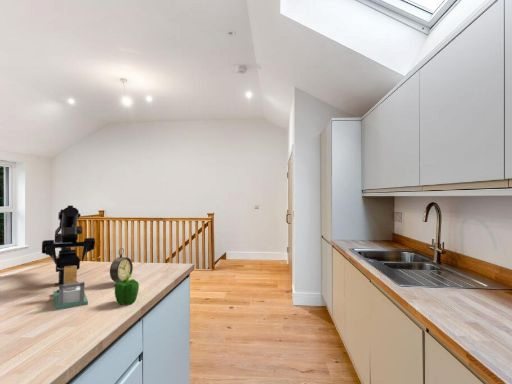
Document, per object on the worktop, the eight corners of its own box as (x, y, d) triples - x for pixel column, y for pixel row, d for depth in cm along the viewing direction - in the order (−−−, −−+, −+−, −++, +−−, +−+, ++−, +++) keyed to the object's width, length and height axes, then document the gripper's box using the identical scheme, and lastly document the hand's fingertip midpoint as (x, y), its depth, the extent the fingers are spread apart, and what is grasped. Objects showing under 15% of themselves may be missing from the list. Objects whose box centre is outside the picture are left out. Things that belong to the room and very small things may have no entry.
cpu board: (53, 294, 116) (54, 274, 116) (82, 290, 122) (83, 271, 122) (54, 310, 100) (55, 286, 100) (87, 304, 105) (88, 282, 106)
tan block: (63, 293, 112) (64, 266, 113) (75, 292, 115) (76, 265, 115) (64, 301, 104) (65, 272, 104) (77, 299, 106) (78, 270, 106)
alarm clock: (117, 287, 126) (118, 250, 126) (106, 286, 127) (107, 249, 127) (133, 281, 136) (134, 246, 137) (123, 280, 138) (124, 245, 138)
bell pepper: (127, 308, 103) (128, 279, 103) (109, 305, 105) (110, 277, 106) (143, 300, 111) (144, 274, 111) (126, 297, 113) (127, 272, 114)
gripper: (42, 220, 117) (41, 252, 108) (95, 219, 128) (98, 247, 119) (42, 237, 123) (41, 269, 114) (92, 235, 134) (94, 263, 125)
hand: (69, 261), depth 118 cm, fingers open, 9 cm apart
